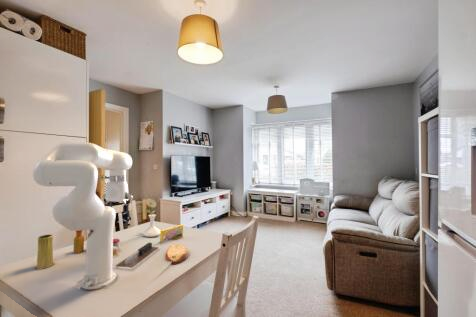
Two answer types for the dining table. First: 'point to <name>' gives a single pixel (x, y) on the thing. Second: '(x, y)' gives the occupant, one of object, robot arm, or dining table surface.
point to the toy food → (80, 239)
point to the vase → (45, 251)
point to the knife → (138, 253)
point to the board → (137, 259)
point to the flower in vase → (151, 220)
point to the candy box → (171, 233)
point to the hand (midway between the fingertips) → (117, 212)
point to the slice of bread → (176, 253)
